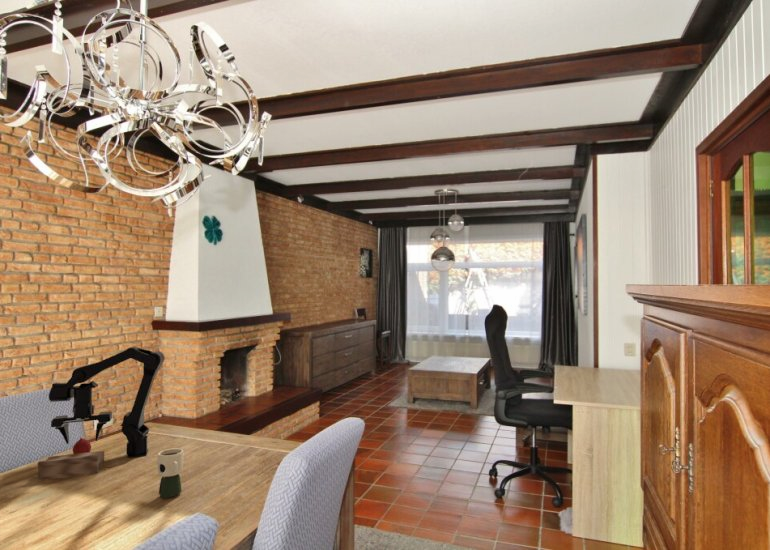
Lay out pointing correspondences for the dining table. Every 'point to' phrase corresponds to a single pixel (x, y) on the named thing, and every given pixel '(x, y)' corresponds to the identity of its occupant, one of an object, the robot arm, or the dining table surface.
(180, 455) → the character mug
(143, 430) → the robot arm
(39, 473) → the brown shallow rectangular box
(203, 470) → the dining table surface
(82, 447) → the onion
